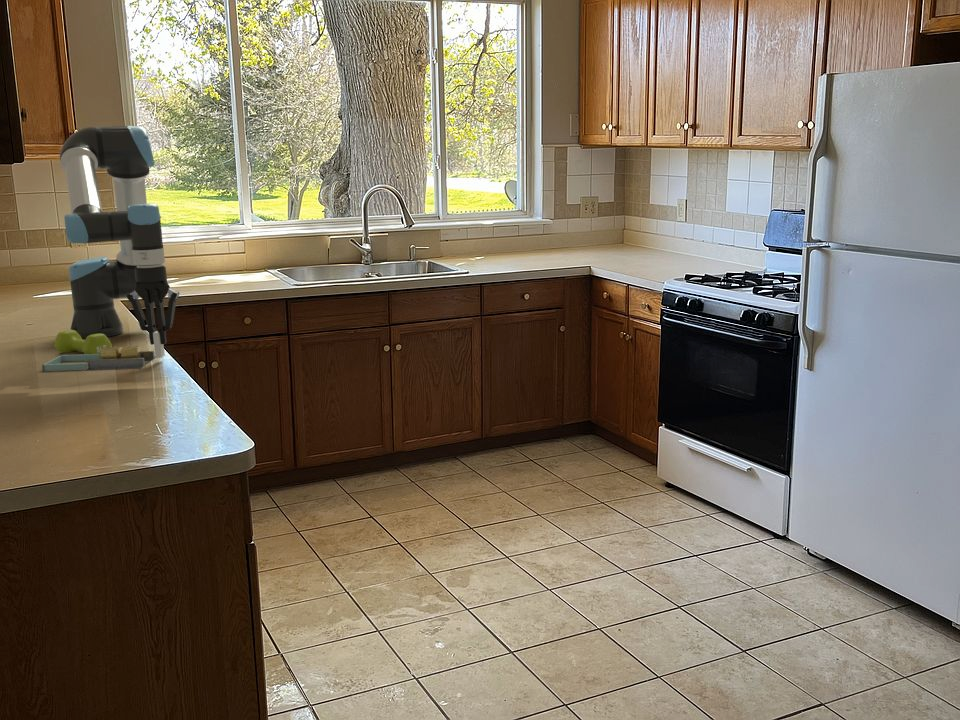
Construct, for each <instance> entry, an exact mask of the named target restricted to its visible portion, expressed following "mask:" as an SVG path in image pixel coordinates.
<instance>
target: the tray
mask: <svg viewBox="0 0 960 720" xmlns="http://www.w3.org/2000/svg"><path fill="white" fill-rule="evenodd" d="M96 359H100V356H99V354H84V353H83V354H64V355H63V354H61V355H60V354H59V355H58V356H57V357H55V358H53V359H51V360H49V361H47V362H45V363H43V364H41V367H42V368H41V369H42V372H52V371H53V372H55V371H57V372H58V371H59V372H60V371H83V370H84V371H85V370H86V369H88V362H86V361H88V360H96ZM83 361H85V362H83ZM62 362H63V363H62ZM64 362H77V363H64ZM78 362H79V363H78ZM80 362H83V363H80Z"/></svg>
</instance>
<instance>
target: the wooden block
mask: <svg viewBox="0 0 960 720" xmlns="http://www.w3.org/2000/svg"><path fill="white" fill-rule="evenodd" d="M121 349H122V346H112V347H105V348H103V349H102V350H100V355H101V359H122V357H121Z"/></svg>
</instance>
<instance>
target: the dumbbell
mask: <svg viewBox="0 0 960 720" xmlns="http://www.w3.org/2000/svg"><path fill="white" fill-rule="evenodd" d="M53 346H54V348H55V350H56V352H57V353H58V354H59V355H60V354H61V353H62V354H65V353H72V352H77V351H80V352H83V354H100V350H102V349H103V348H105V347H113V346H112V343H111V341H110V339H109V337H106V336H105V335H104V334H101V333H98V334H93V335H89V336H87V337H86V339H82V338H81V336H80V335H79V334H78V333H77V332H76V331H75V330H70V329H66V330H62V331H59V332H58V333H57V334H56V337H55V341H54V344H53Z"/></svg>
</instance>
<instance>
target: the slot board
mask: <svg viewBox="0 0 960 720" xmlns="http://www.w3.org/2000/svg"><path fill="white" fill-rule="evenodd" d="M140 355H141V358H124V359H101V355H100V354H99V356H100V359H96V360H88V361H87V362H86V363H87V369H86V370H84V371H85V372H87V371H88V372H91V371H92V372H93V371H117V370H138V369H139V370H141V369H142V368H143V367H145V366H146V365H148V364H149V363H151V362H152V361H154V360H155V359H157V358H156V356H155V350H144V351H143V350H142V351H141V350H140Z"/></svg>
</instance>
